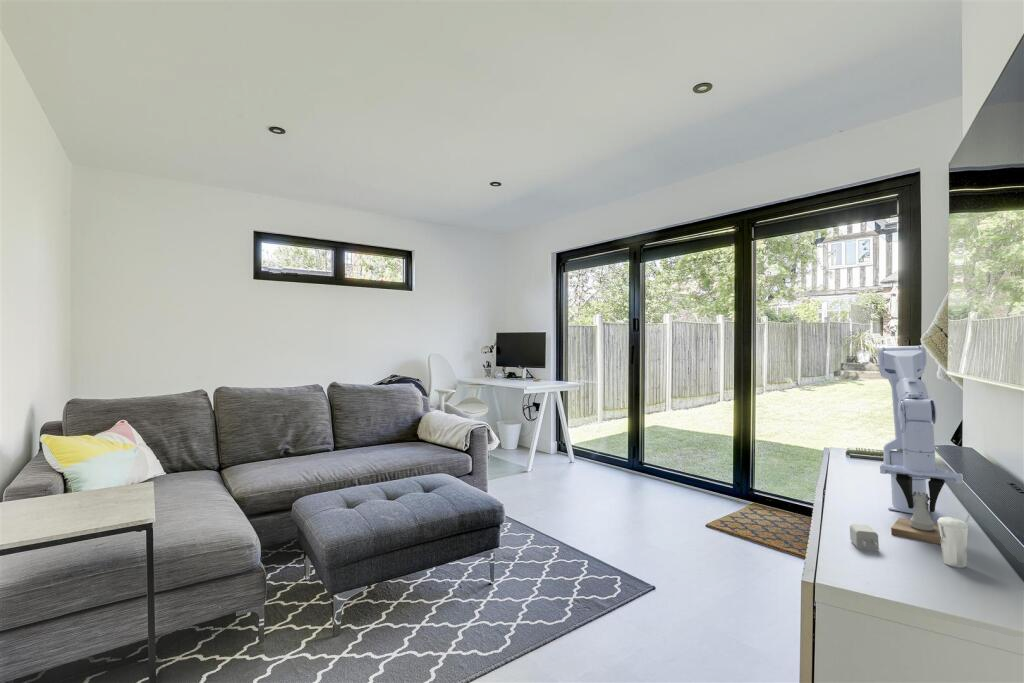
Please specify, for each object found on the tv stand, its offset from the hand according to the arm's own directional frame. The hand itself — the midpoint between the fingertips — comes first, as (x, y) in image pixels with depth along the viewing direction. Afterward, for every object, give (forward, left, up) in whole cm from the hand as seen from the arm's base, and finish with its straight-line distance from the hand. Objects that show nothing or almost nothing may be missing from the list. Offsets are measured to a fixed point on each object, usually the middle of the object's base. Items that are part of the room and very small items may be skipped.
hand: (921, 509), depth 110 cm
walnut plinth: (0, 0, -6) cm, 6 cm away
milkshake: (+16, +7, -6) cm, 18 cm away
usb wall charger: (+19, -7, -6) cm, 21 cm away
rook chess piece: (0, 0, -4) cm, 4 cm away
